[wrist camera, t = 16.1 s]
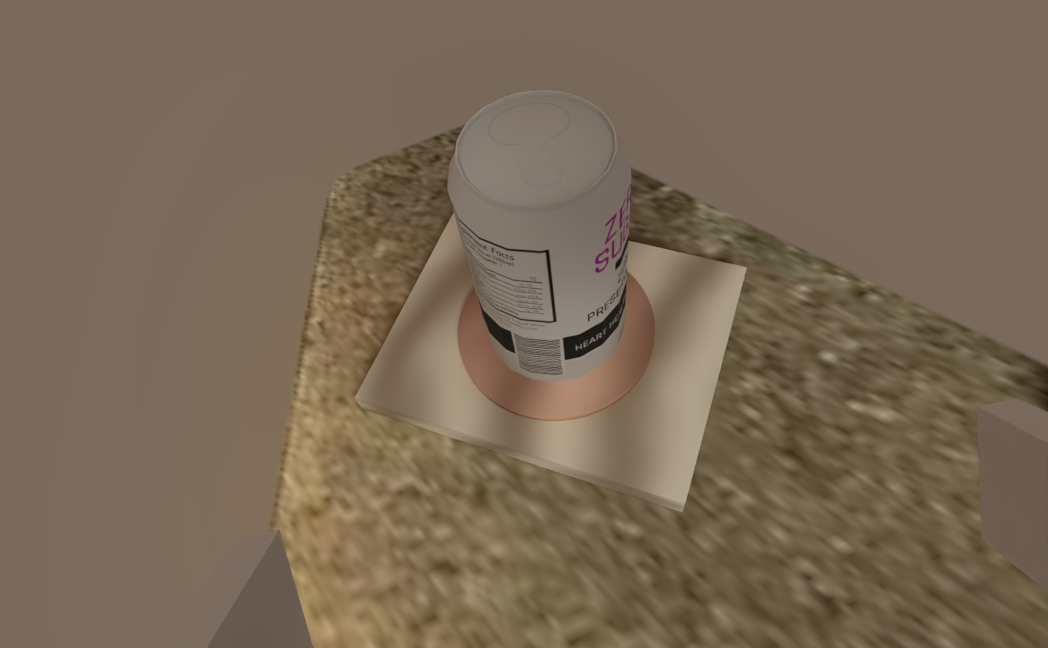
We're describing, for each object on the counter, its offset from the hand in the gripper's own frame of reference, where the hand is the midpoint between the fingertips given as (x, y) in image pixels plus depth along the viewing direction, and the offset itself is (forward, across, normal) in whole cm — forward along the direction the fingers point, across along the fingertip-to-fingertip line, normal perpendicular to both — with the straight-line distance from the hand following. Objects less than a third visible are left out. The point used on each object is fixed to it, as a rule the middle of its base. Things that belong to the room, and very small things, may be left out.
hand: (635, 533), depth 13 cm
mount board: (+31, 0, -4) cm, 32 cm away
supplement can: (+30, 0, -3) cm, 30 cm away
